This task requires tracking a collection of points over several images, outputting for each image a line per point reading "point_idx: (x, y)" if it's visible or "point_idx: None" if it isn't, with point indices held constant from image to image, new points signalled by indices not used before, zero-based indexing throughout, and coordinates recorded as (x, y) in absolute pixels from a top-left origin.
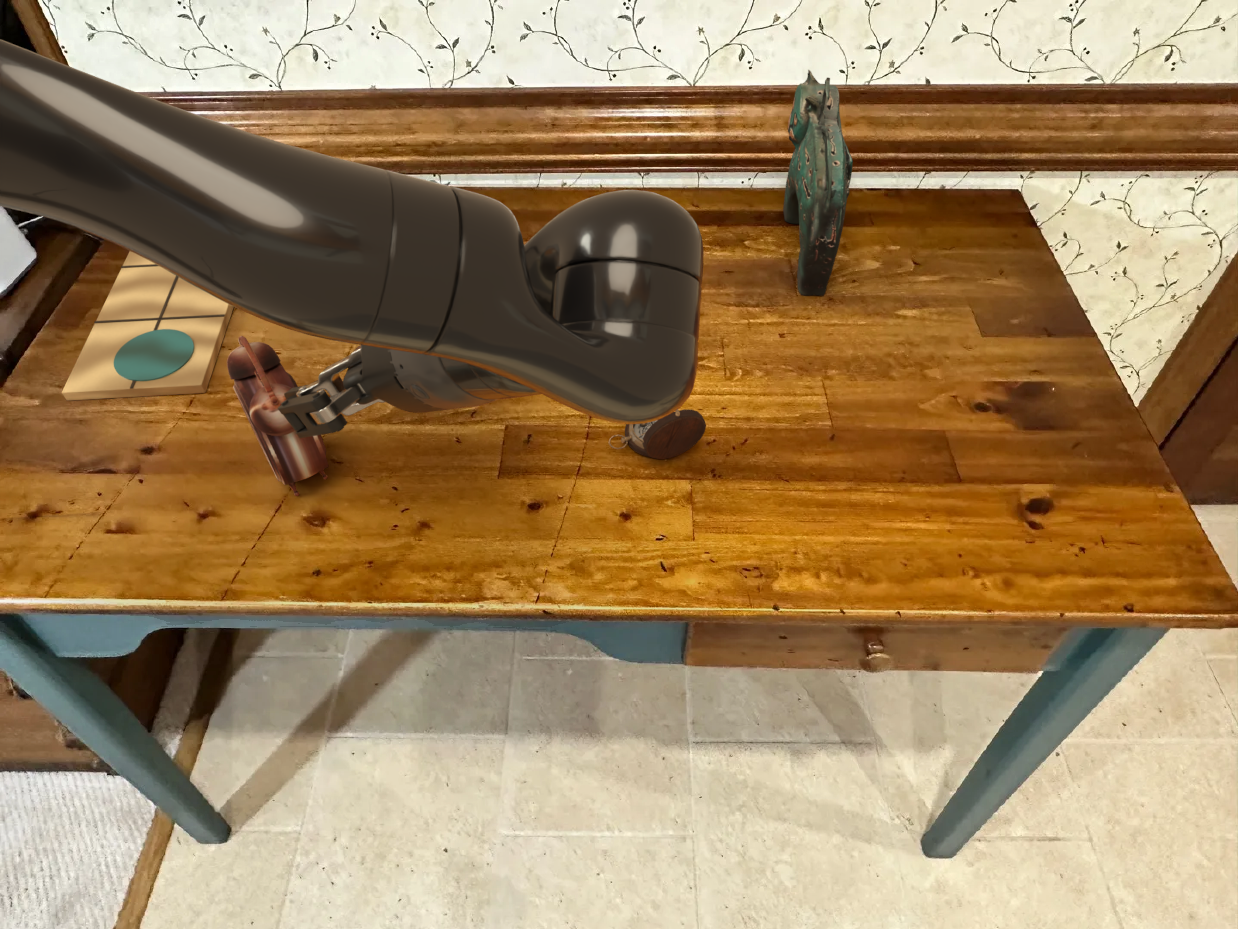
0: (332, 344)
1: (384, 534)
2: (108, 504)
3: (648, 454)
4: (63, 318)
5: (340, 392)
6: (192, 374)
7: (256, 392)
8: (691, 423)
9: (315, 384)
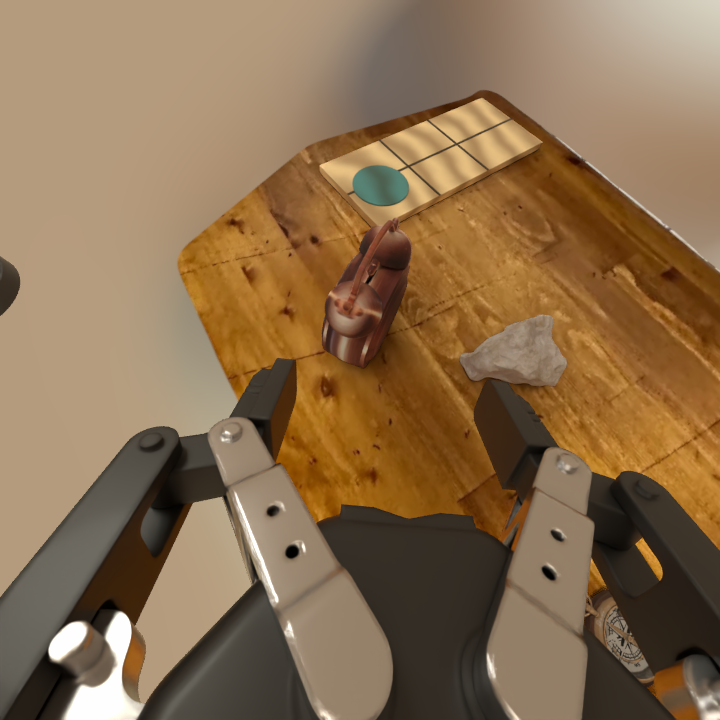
0: (474, 272)
1: (345, 449)
2: (262, 252)
3: None
4: (372, 127)
5: (112, 714)
6: (382, 215)
7: (348, 282)
8: None
9: (226, 475)
